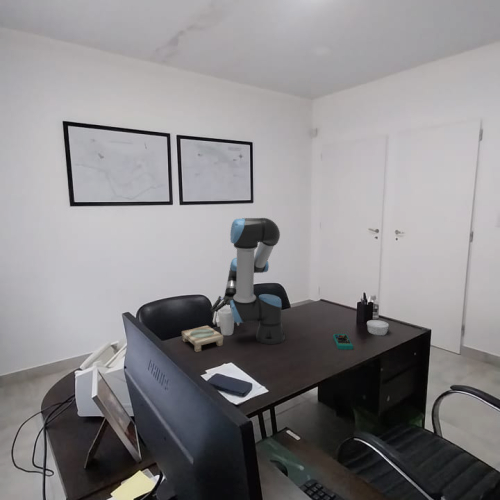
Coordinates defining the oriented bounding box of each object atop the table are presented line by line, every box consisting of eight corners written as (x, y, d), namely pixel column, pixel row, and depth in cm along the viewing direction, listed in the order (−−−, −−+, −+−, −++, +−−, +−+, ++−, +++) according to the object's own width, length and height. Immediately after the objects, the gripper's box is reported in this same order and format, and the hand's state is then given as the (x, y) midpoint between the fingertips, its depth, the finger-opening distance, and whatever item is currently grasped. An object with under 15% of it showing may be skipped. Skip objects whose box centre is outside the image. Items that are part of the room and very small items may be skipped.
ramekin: (386, 337, 178) (387, 328, 177) (364, 334, 183) (365, 324, 182) (389, 331, 187) (390, 321, 187) (368, 327, 193) (369, 318, 192)
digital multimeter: (346, 338, 178) (346, 333, 178) (353, 350, 164) (353, 344, 163) (332, 338, 179) (332, 333, 178) (337, 350, 164) (338, 344, 164)
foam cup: (222, 337, 181) (221, 314, 179) (216, 332, 189) (215, 309, 187) (238, 334, 185) (238, 311, 183) (231, 329, 193) (231, 307, 192)
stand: (223, 345, 171) (223, 335, 170) (196, 352, 163) (195, 342, 162) (207, 334, 186) (207, 325, 185) (182, 340, 178) (181, 331, 177)
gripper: (254, 294, 197) (249, 328, 184) (213, 292, 202) (205, 325, 190) (252, 287, 191) (247, 322, 179) (210, 286, 196) (202, 319, 184)
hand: (225, 323), depth 184 cm, fingers open, 13 cm apart
